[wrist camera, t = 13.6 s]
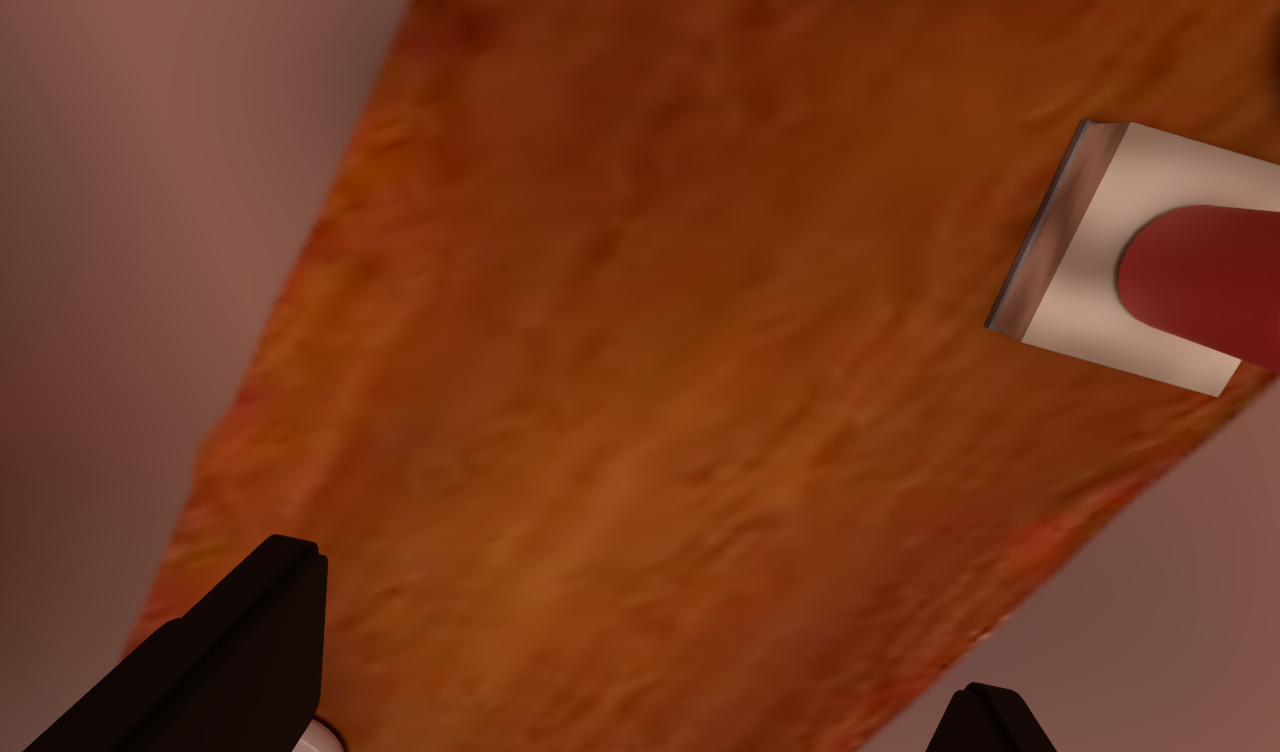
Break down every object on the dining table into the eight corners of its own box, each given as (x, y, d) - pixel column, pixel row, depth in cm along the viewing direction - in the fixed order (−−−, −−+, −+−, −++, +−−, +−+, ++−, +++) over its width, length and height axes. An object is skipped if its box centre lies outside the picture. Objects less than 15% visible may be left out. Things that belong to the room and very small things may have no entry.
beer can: (1259, 203, 33) (1569, 229, 21) (1221, 326, 35) (1484, 409, 23) (1127, 203, 33) (1362, 229, 22) (1098, 326, 35) (1297, 407, 24)
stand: (1081, 120, 35) (1129, 116, 32) (1286, 180, 36) (1357, 183, 32) (983, 326, 40) (1016, 344, 36) (1168, 377, 40) (1219, 401, 36)
